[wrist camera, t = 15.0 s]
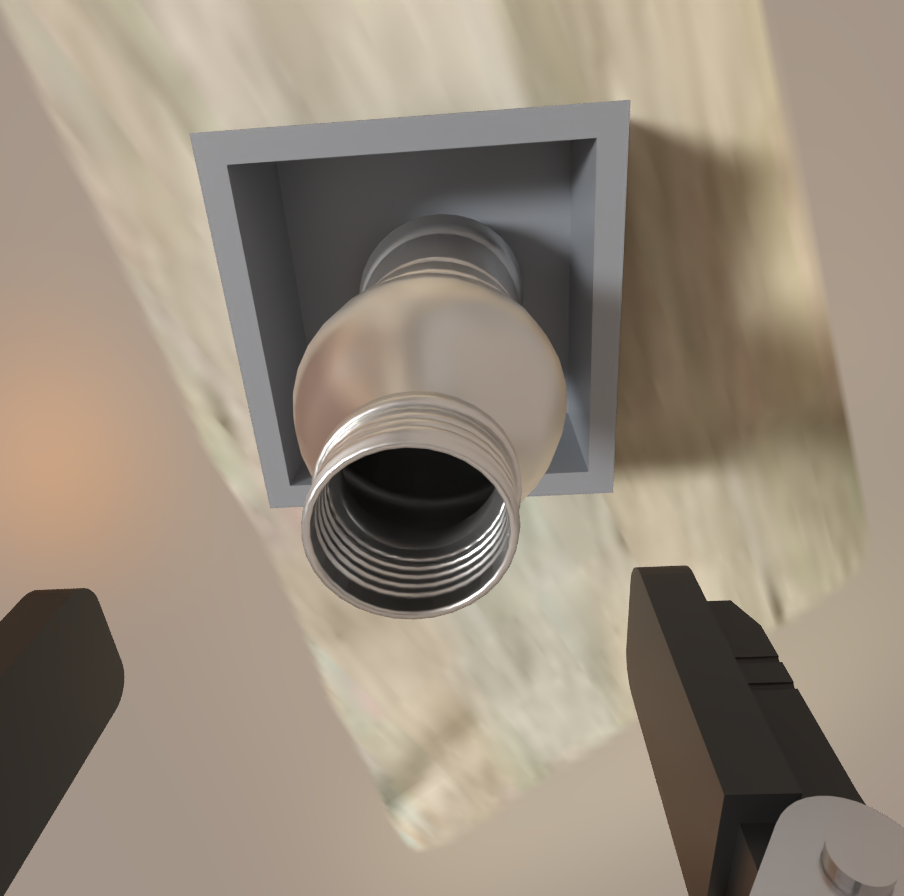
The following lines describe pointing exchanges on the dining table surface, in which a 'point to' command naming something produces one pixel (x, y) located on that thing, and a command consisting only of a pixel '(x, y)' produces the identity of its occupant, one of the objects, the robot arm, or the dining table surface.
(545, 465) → the plastic bottle
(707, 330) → the dining table surface
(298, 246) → the box
